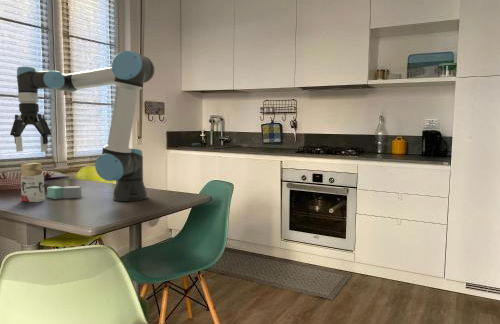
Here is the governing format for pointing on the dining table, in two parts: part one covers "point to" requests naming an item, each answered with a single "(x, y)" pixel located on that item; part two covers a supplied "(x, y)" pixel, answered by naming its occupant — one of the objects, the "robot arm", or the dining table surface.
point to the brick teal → (55, 192)
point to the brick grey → (72, 192)
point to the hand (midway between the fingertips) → (31, 151)
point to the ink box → (32, 188)
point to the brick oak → (31, 169)
